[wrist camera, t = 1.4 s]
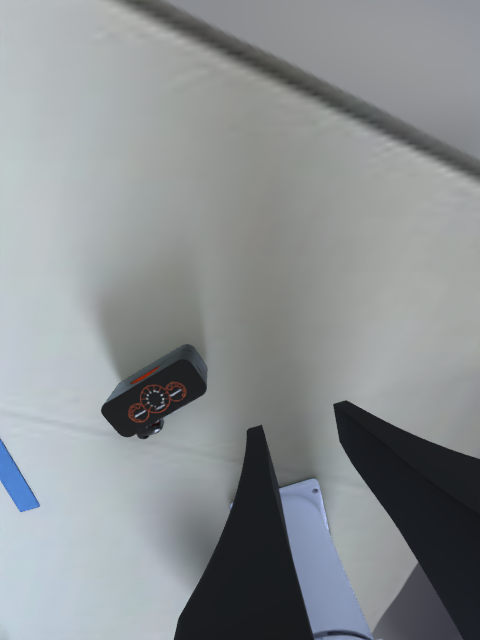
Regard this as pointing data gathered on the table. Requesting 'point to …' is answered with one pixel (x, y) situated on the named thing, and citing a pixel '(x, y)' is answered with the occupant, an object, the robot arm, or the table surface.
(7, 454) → the tape line
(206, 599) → the robot arm
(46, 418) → the table surface
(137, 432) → the black rounded block
